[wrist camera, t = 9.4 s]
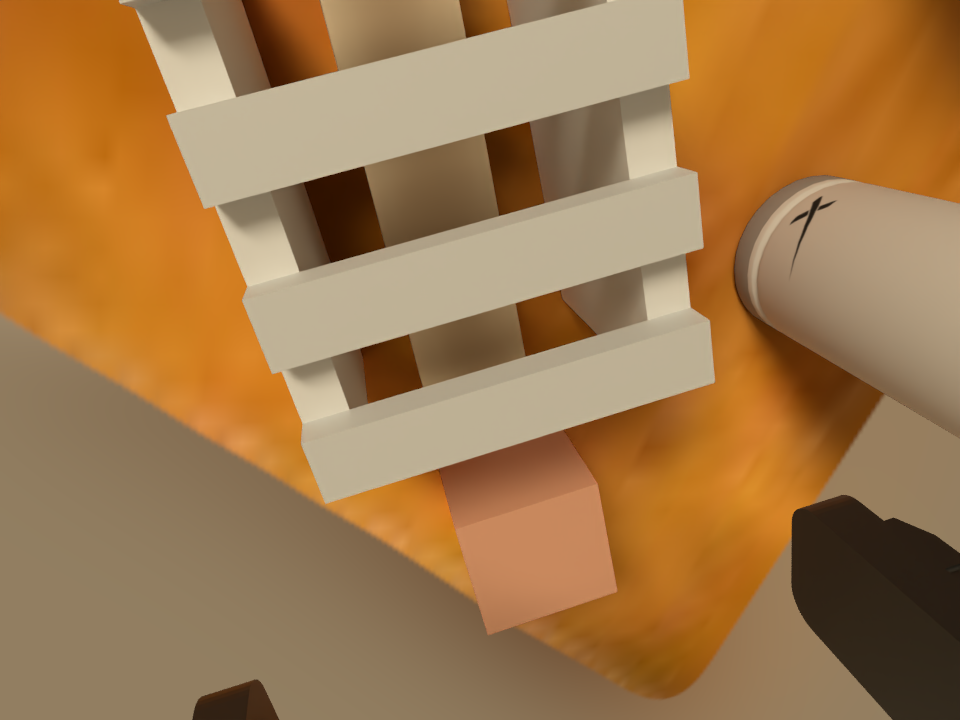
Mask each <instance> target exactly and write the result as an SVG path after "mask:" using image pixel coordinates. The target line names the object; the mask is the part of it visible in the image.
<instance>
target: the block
mask: <svg viewBox="0 0 960 720" xmlns="http://www.w3.org/2000/svg"><path fill="white" fill-rule="evenodd" d="M439 471H440V475H441V479H442V482H443V486H444V490H445V494H446V497H447V501H448V505H449V508H450V512H451V516H452V520H453V523H454V527H455V531H456V534H457V537H458V540H459V544H460V547H461V550H462V553H463V556H464V560H465V563H466V566H467V569H468V573H469V576H470V579H471V582H472V585H473V589H474V592H475V595H476V598H477V602H478V605H479V608H480V611H481V614H482V618H483V621H484V624H485V627H486V630H487V634H488V635H491V634H493V633H496V632H499V631H502V630H505V629H508V628H511V627H514V626H517V625H520V624H523V623H526V622H529V621H532V620H535V619H538V618H541V617H544V616H547V615H550V614H553V613H556V612H559V611H562V610H565V609H568V608H571V607H574V606H577V605H580V604H583V603H586V602H589V601H592V600H595V599H598V598H601V597H604V596H607V595H609V594H612V593H615V592H617V586H616V581H615V575H614V570H613V564H612V559H611V554H610V548H609V543H608V537H607V532H606V526H605V521H604V515H603V510H602V505H601V499H600V494H599V488H598V483H597V482H596V480H595V479H594V477H593V476H592V474H591V473H590V471H589V469H588V468H587V466H586V465H585V463H584V462H583V460H582V458H581V457H580V455H579V454H578V452H577V451H576V449H575V447H574V446H573V444H572V443H571V441H570V440H569V438H568V437H567V435H566V433H565V432H564V430H561V431H558V432H554V433H551V434H548V435H545V436H542V437H538V438H535V439H532V440H529V441H525V442H522V443H519V444H516V445H513V446H509V447H506V448H503V449H500V450H497V451H493V452H490V453H487V454H484V455H480V456H477V457H474V458H471V459H468V460H464V461H461V462H458V463H455V464H451V465H448V466H445V467H442V468H439Z"/></svg>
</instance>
